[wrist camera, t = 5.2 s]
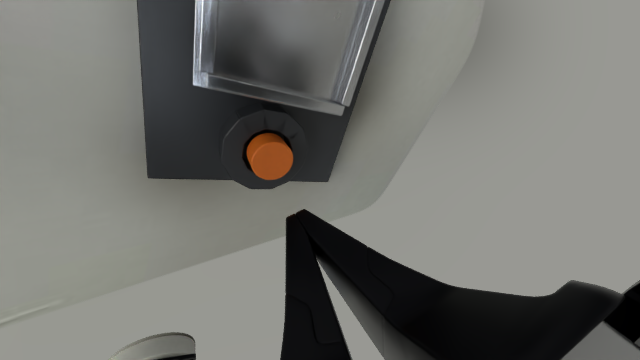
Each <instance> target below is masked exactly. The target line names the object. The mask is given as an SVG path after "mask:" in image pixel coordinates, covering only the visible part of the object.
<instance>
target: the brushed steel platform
mask: <svg viewBox="0 0 640 360" xmlns="http://www.w3.org/2000/svg"><path fill="white" fill-rule="evenodd" d="M384 2H385V0H195V18H194V49H193V80H192V84H193V86H198V87H202V88H207V89H212V90H217V91H222V92H227V93H231V94H236V95H241V96H246V97H251V98H256V99H260V100H265V101H270V102H275V103H280V104H285V105H290V106H294V107H299V108H304V109H309V110H314V111H319V112H323V113H328V114H333V115H338V116H342V114H343V111H344V108H345V106H350V103H351V100H352V97H353V94H354V91H355V88H356V85H357V82H358V79H359V76H360V73H361V70H362V67H363V64H364V61H365V58H366V55H367V53H368V50H369V47H370V44H371V41H372V38H373V35H374V32H375V29H376V26H377V23H378V20H379V17H380V14H381V11H382V8H383V5H384Z"/></svg>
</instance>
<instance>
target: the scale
mask: <svg viewBox="0 0 640 360" xmlns="http://www.w3.org/2000/svg"><path fill="white" fill-rule="evenodd" d="M390 1H391V0H385V2H384V5H383V8H382V11H381V14H380V17H379V20H378V23H377V26H376V29H375V32H374V35H373V38H372V41H371V44H370V47H369V50H368V53H367V55H366V58H365V61H364V64H363V67H362V70H361V73H360V76H359V79H358V82H357V85H356V88H355V91H354V94H353V97H352V100H351V103H350V106H345V108H344V111H343V114H342V116H338V115H333V114H328V113H323V112H319V111H314V110H309V109H304V108H299V107H294V106H290V105H285V104H280V103H275V102H270V101H265V100H260V99H256V98H251V97H246V96H241V95H236V94H231V93H227V92H222V91H217V90H212V89H207V88H202V87H198V86H193V84H192V80H193V49H194V18H195V0H137V10H138V27H139V43H140V60H141V76H142V93H143V109H144V125H145V142H146V158H147V175H148V178H158V179H207V180H234V181H236V182H238V183H240V184H242V185H244V186H246V187H247V188H249V189H250V188H251V189H273V188H275V187H277V186H280V185H282V184H284V183H286V182H288V181H307V182H328V180H329V177H330V174H331V171H332V169H333V166H334V163H335V160H336V157H337V154H338V151H339V148H340V145H341V143H342V140H343V137H344V134H345V131H346V128H347V125H348V122H349V119H350V116H351V114H352V111H353V108H354V105H355V102H356V99H357V96H358V93H359V90H360V88H361V85H362V82H363V79H364V76H365V73H366V70H367V67H368V64H369V62H370V59H371V56H372V53H373V50H374V47H375V44H376V41H377V38H378V36H379V33H380V30H381V27H382V24H383V21H384V18H385V15H386V12H387V10H388V7H389V4H390ZM263 133H273V134H276V135H278V136H280V137H281V138H282V139H283V140H284V142H285V143H286V144H287V145H288V147H289V148H290V149H291V151H292V153H293V164H292V166H291V168H290V170H289V171H288V172H287V173H286V174H285V175H284V176H282V177H281V178H278V179H275V180H265V179H262V178H260V177H258V176H257V175H256V174H255V173H254V172H253V170H252V168H251V165H250V163H249V161H248V158H247V147H248V145H249V143H250V142H251V140H252V139H253V138H255V137H256V136H258V135H260V134H263Z"/></svg>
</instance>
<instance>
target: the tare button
mask: <svg viewBox="0 0 640 360" xmlns="http://www.w3.org/2000/svg"><path fill="white" fill-rule="evenodd" d="M247 158H248V161H249V163H250V165H251V168H252V170H253V172H254V173H255V174H256V175H257V176H258V177H260V178H262V179H265V180H275V179H278V178H281V177H282V176H284V175H285V174H286V173H287V172H288V171H289V170H290V168H291V166H292V164H293V153H292V151H291V149H290V148H289V147H288V145H287V144H286V143H285V142H284V140H283V139H282V138H281V137H280V136H278V135H276V134H273V133H263V134H260V135H258V136H256V137H255V138H253V139H252V140H251V142H250V143H249V145H248V147H247Z"/></svg>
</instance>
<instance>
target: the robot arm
mask: <svg viewBox="0 0 640 360" xmlns="http://www.w3.org/2000/svg"><path fill="white" fill-rule="evenodd" d="M316 258H317V259H316ZM317 260H318V262H319V263H320V265H321V266H322V268H323V269H324V271H325V272H326V274H327V275H328V277H329V278H330V280H331V281H332V283H333V284H334V285H335V287H336V288H337V290H338V291H339V293H340V294H341V296H342V297H343V299H344V300H345V302H346V303H347V305H348V306H349V307H350V309H351V310H352V312H353V313H354V315H355V316H356V318H357V319H358V321H359V322H360V324H361V325H362V327H363V328H364V330H365V331H366V333H367V334H368V336H369V337H370V339H371V340H372V342H373V343H374V345H375V346H376V347H377V349H378V350H379V352H380V353H381V355H382V356H383V357H384V359H385V360H640V280H639V281H638V282H636V283H635V284H634V285H632V286H631V287H630V288H629V289H627V290H626V291H625V292H624V293H622V294H620V293H618V292H616V291H613V290H610V289H607V288H605V287H601V286H598V285H593V284H589V283H584V282H579V281H574V280H571V281H569V282H567V283H566V284H565V285H564V286H563V287H561V288H560V289H559V290H557V291H556V292H555V293H553V294H551V295H547V296H539V297H531V296H521V295H513V294H505V293H498V292H490V291H482V290H475V289H467V288H460V287H455V286H451V285H448V284H445V283H442V282H440V281H437V280H435V279H433V278H431V277H428V276H426V275H424V274H422V273H420V272H417V271H415V270H413V269H411V268H408V267H406V266H404V265H402V264H400V263H398V262H395V261H393V260H391V259H389V258H387V257H386V256H384V255H382V254H380V253H378V252H376V251H375V250H373V249H371V248H370V247H368V248H367V246H366V245H365V244H363V243H361V242H359V241H358V240H356V239H354V238H353V237H351V236H349V235H347V234H346V233H344V232H342V231H341V230H339V229H337V228H336V227H334V226H332V225H331V224H329V223H327V222H326V221H324V220H322V219H320V218H319V217H317V216H315V215H314V214H312V213H310V212H309V211H307V210H305V209H303V210H301V211H299V212H297V213H296V214H293V215H290V216H288V217H287V218H286V296H285V323H284V333H283V342H282V351H281V358H280V360H352V357H351V354H350V352H349V349H348V346H347V344H346V341H345V338H344V335H343V332H342V329H341V326H340V324H339V321H338V318H337V315H336V312H335V310H334V307H333V304H332V301H331V298H330V295H329V293H328V290H327V287H326V284H325V282H324V278H323V276H322V273H321V270H320V267H319V264H318V262H317ZM156 360H196V354H187V355H181V356H174V357H168V358H162V359H156Z"/></svg>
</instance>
